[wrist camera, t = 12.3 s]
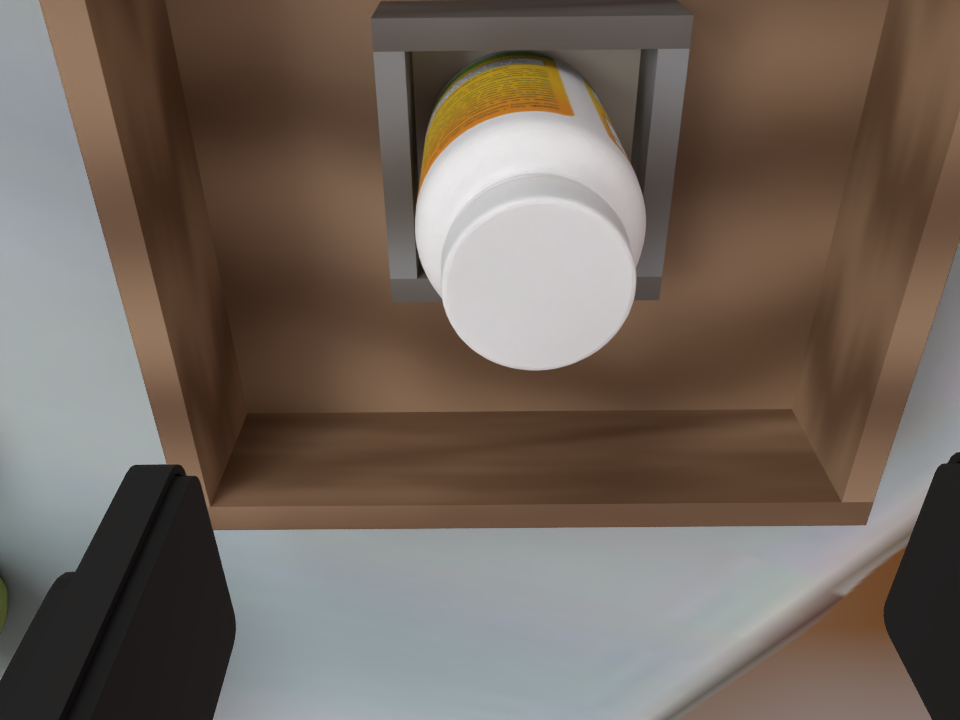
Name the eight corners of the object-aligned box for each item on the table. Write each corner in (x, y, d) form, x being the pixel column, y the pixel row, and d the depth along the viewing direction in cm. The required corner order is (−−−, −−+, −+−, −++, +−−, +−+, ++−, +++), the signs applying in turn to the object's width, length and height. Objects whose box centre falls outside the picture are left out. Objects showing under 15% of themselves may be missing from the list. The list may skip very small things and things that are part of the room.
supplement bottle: (394, 169, 25) (357, 331, 17) (485, 7, 23) (494, 106, 15) (542, 252, 27) (573, 437, 19) (642, 108, 24) (729, 249, 16)
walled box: (75, -313, 20) (-60, -360, 15) (988, -324, 20) (1161, -375, 15) (231, 418, 32) (185, 530, 27) (804, 414, 32) (865, 525, 27)
